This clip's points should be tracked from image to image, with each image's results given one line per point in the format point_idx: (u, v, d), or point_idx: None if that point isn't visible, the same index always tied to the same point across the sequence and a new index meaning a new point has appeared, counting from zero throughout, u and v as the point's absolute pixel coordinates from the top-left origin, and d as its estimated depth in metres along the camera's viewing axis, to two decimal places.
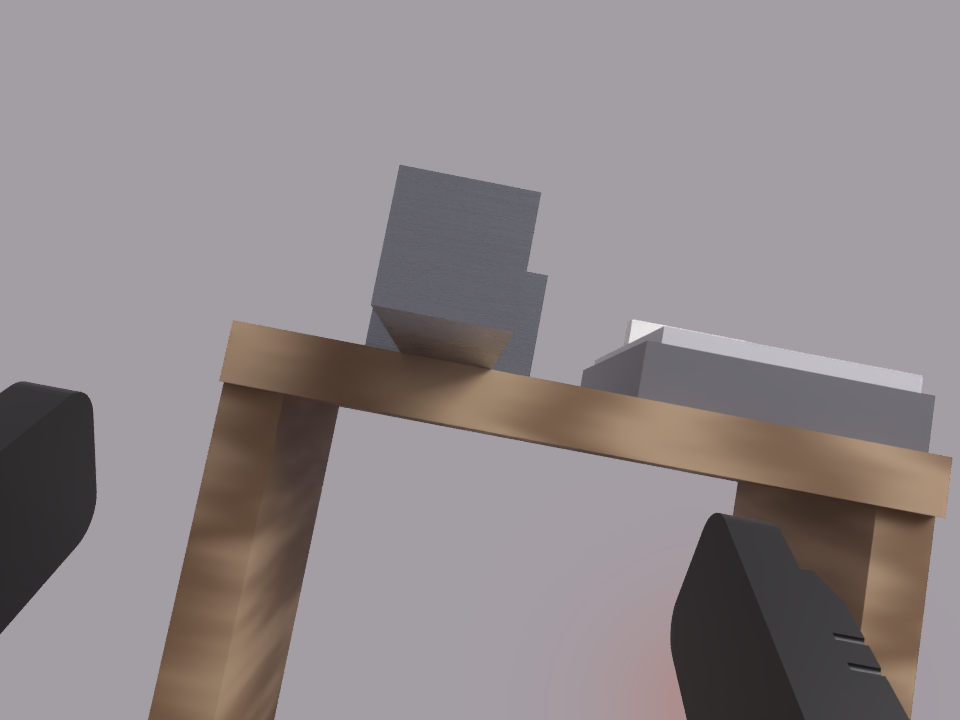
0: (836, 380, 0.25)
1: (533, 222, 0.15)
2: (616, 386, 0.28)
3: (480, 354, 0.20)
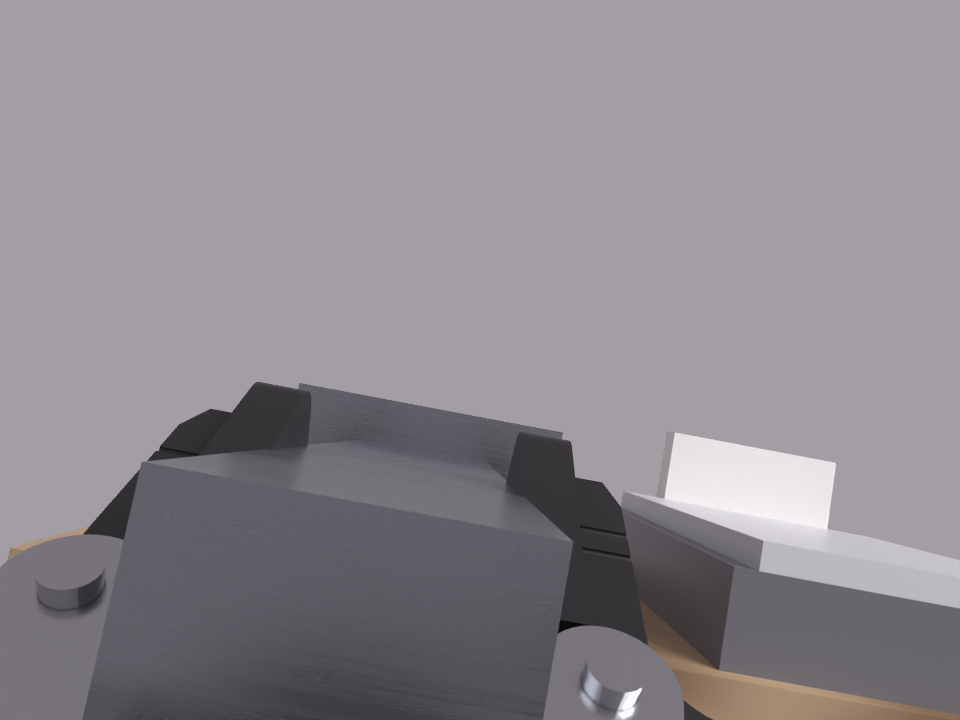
0: None
1: (550, 639, 0.05)
2: (669, 595, 0.18)
3: None
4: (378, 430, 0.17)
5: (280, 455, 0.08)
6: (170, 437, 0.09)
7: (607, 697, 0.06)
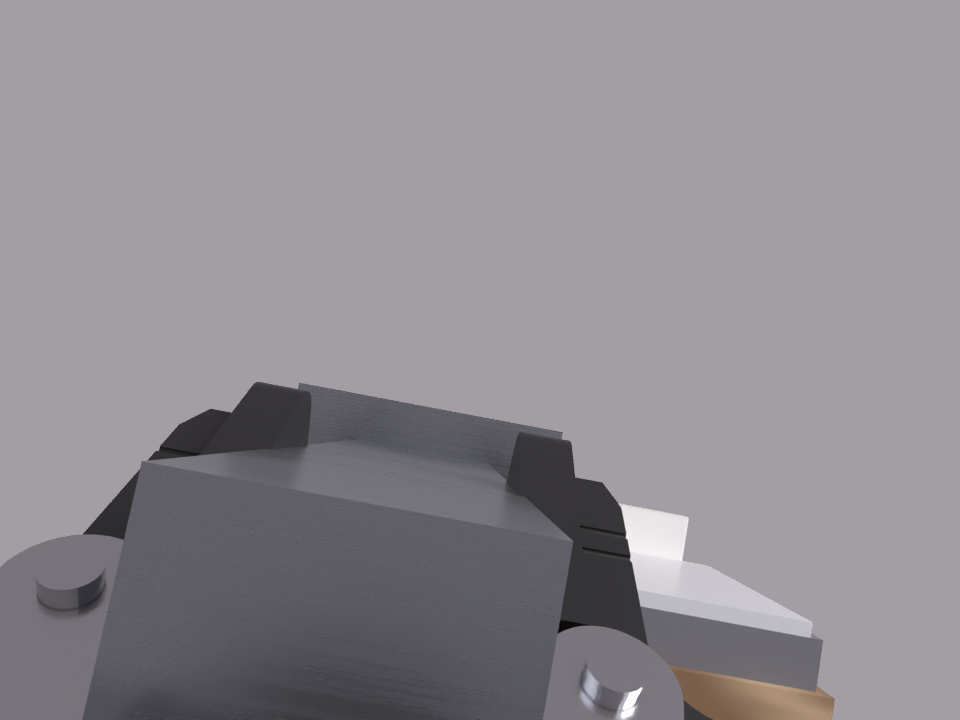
0: (737, 627, 0.29)
1: (551, 638, 0.05)
2: None
3: None
4: (378, 430, 0.17)
5: (280, 455, 0.08)
6: (170, 437, 0.09)
7: (608, 697, 0.06)
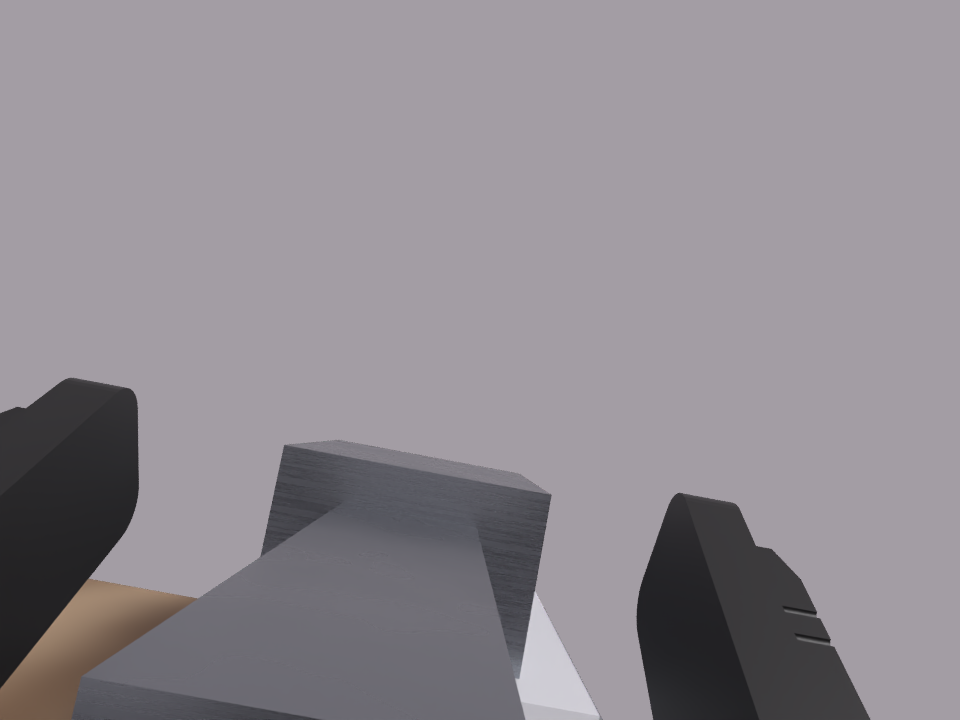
0: None
1: None
2: None
3: None
4: (364, 493, 0.16)
5: (246, 590, 0.08)
6: None
7: None
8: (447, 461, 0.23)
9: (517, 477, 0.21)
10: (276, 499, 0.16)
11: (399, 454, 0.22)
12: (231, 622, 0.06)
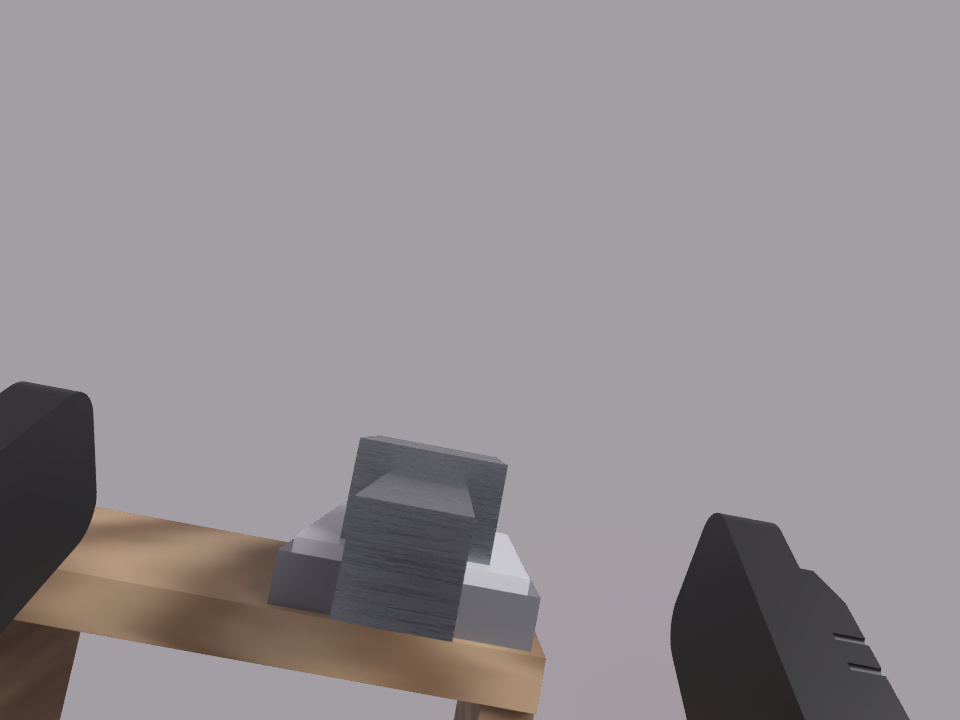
0: None
1: (468, 544, 0.18)
2: None
3: None
4: (404, 464, 0.30)
5: (377, 488, 0.21)
6: None
7: None
8: (449, 449, 0.37)
9: (493, 458, 0.35)
10: (356, 467, 0.29)
11: (420, 444, 0.35)
12: (380, 492, 0.20)
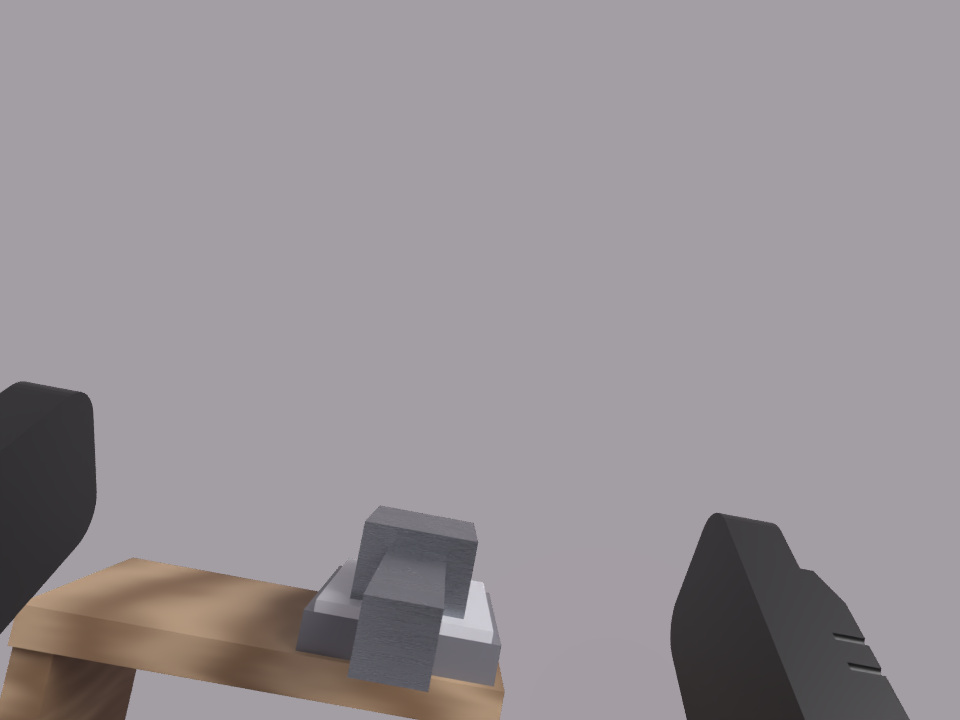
0: None
1: (439, 627, 0.27)
2: None
3: None
4: (399, 541, 0.39)
5: (378, 579, 0.30)
6: None
7: None
8: (436, 517, 0.46)
9: (469, 528, 0.44)
10: (362, 544, 0.39)
11: (411, 516, 0.44)
12: (380, 586, 0.29)
